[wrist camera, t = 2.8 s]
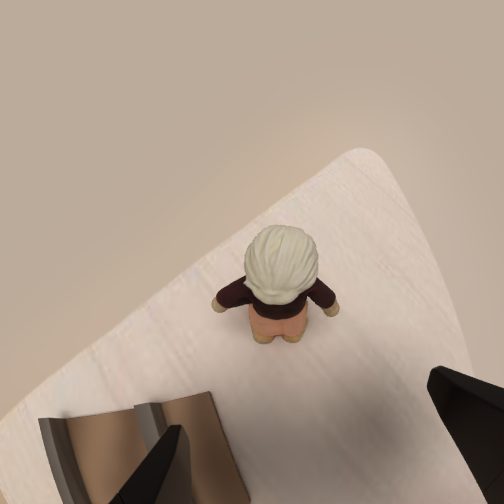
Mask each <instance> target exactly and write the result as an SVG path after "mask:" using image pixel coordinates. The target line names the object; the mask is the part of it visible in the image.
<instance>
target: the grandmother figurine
mask: <svg viewBox="0 0 504 504" xmlns="http://www.w3.org/2000/svg"><path fill="white" fill-rule="evenodd" d="M244 269H245V273H246V276H244V277H242V278H240V279H238V280H236V281H234V282H232V283H231V284H229V285H228V286H226V287H224V288H222V289H221V290H220V291H219V292H218V293H217V295H216V297H215V298H214V299H213V300H212V308H213V310H214V311H216V312H218V313H222V312H225V311H226V310H227V309H229V308H233V307H237V306H241V305H245V304H249V318H250V322H251V327H252V332H253V336H254V339H255V341H256V342H258V343H260V344H266V343H270V342H271V341H272V340H273V339H274V336H275V335H281V334H282V338H283V339H284V340H285V341H287V342H291V343H296V342H298V341H299V340H300V339H301V337H302V335H303V333H304V330H305V328H306V325H307V322H308V319H307V316H306V315H307V308H308V302H307V300H306V299H307V296H308V297H310V298H311V300H312V301H314V302H315V304H316V305H318V306H319V307H321V309H322V310H323V311H324V313H325V314H326V315H327V316H329V317H333V316H335V315H337V314H338V312H339V305H338V303H337V301H336V295H335V293H334V292H333V291H332V290H331V289H330V288H329V287H327V286H326V285H325V284H324V283H323V282H322V281H321V280H319V279H318V278H317V274H318V253H317V250H316V244H315V242H314V241H313V239H312V237H311V236H310V235H308V234H306V233H305V232H304V230H302V229H300V228H296V227H291V226H282V225H271V226H269V227H267V228H265V229H263V230H262V231H261V232H260V233H259V234H257V236H256V237H255V238H254V240H253V242H252V243H251V244H250V245H249V246H248V248H247V251H246V253H245V261H244Z"/></svg>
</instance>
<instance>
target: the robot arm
mask: <svg viewBox="0 0 504 504" xmlns="http://www.w3.org/2000/svg"><path fill="white" fill-rule="evenodd" d="M427 390H428V392H429V394H430V396H431V399H432V401H433V403H434V405H435V407H436V409H437V411H438V414H439V416H440V418H441V420H442V422H443V423H444V425H445V427H446V428H447V430H448V432H449V433H450V435H451V437H452V438H453V440H454V442H455V444H456V445H457V447H458V449H459V451H460V452H461V454H462V456H463V458H464V459H465V461H466V463H467V465H468V467H469V469H470V470H471V472H472V474H473V476H474V478H475V480H476V482H477V483H478V485H479V487H480V489H481V491H482V493H483V495H484V497H485V499H486V501H487V503H488V504H504V388H501V387H498V386H496V385H493V384H490V383H487V382H484V381H482V380H478V379H476V378H473V377H471V376H468V375H465V374H462V373H460V372H457V371H454V370H452V369H449V368H446V367H444V366H438V367H435V368H433V369H432V370H431V371H430V375H429V379H428V382H427ZM191 486H192V475H191V458H190V442H189V438H188V436H187V433H186V431H185V429H184V427H183V425H182V424H171V425H169V427H168V428H167V429H166V430H165V432H164V433H163V434H162V436H161V437H160V438H159V440H158V441H157V442H156V444H155V445H154V446H153V448H152V449H151V450H150V452H149V453H148V454H147V455H146V457H145V458H144V459H143V461H142V462H141V463H140V464H139V466H138V467H137V468H136V470H135V471H134V472H133V473H132V475H131V476H130V477H129V479H128V480H127V481H126V482H125V484H124V485H123V486H122V487H121V489H120V490H119V491H118V492H119V493H116V495H115V496H114V497H113V498H112V500H111V501H110V502H109V503H108V504H190V500H191Z"/></svg>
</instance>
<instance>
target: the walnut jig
mask: <svg viewBox="0 0 504 504" xmlns="http://www.w3.org/2000/svg"><path fill="white" fill-rule="evenodd" d="M38 421H39V425H40V430H41V434H42V438H43V442H44V446H45V450H46V454H47V457H48V461H49V464H50V467H51V471H52V474H53V477H54V480H55V483H56V486H57V488H58V491H59V494H60V496H61V499H62V502H63V504H108V503H109V502H110V501H111V500H112V498H113V497H114V496H115V495H116V493H119V492H118V491H119V490H120V489H121V487H122V486H123V485H124V484H125V482H126V481H127V480H128V479H129V477H130V476H131V475H132V473H133V472H134V471H135V470H136V468H137V467H138V466H139V464H140V463H141V462H142V461H143V459H144V458H145V457H146V455H147V454H148V453H149V452H150V450H151V449H152V448H153V446H154V445H155V444H156V442H157V441H158V440H159V438H160V437H161V436H162V434H163V433H164V432H165V430H166V429H167V428H168V427H169V425H171V424H182V425H183V427H184V429H185V431H186V433H187V436H188V438H189V442H190V458H191V475H192V486H191V500H190V504H250V502H251V500H250V498H249V496H248V493H247V491H246V489H245V486H244V484H243V481H242V479H241V476H240V474H239V471H238V469H237V466H236V464H235V461H234V458H233V456H232V453H231V451H230V448H229V445H228V442H227V440H226V437H225V434H224V431H223V429H222V426H221V423H220V420H219V417H218V414H217V411H216V408H215V405H214V402H213V399H212V396H211V393H210V392H209V391H208V392H204V393H201V394H197V395H193V396H189V397H185V398H181V399H177V400H173V401H168V402H164V403H144V404H139V405H134V409H130V410H124V411H119V412H113V413H106V414H100V415H93V416H86V417H78V418H69V419H59V418H39V419H38Z"/></svg>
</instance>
